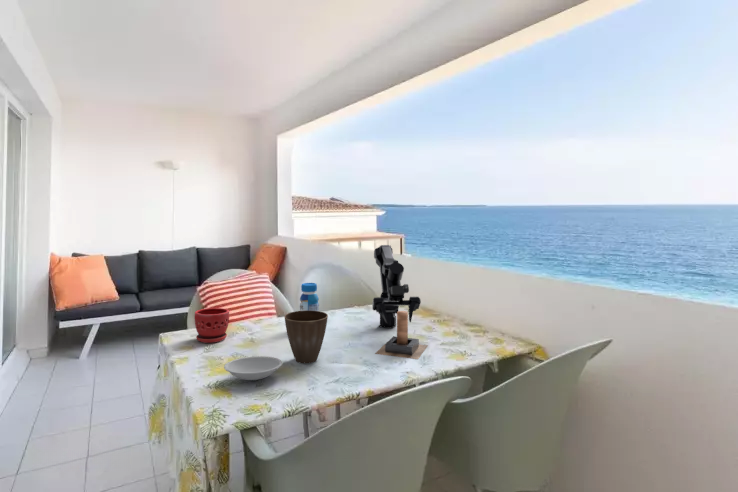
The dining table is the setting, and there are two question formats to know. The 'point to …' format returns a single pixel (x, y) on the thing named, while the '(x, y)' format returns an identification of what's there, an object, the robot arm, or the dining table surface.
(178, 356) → the dining table surface
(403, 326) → the terracotta pin
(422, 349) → the walnut board
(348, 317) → the dining table surface
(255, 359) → the dish
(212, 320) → the plant pot
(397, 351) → the black collar
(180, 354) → the dining table surface
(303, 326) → the plant pot
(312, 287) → the beverage bottle
